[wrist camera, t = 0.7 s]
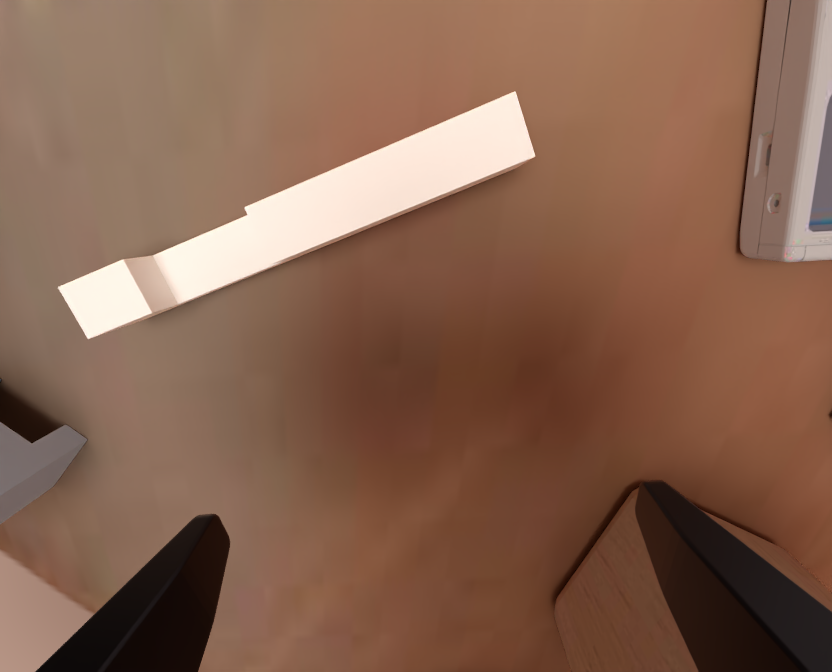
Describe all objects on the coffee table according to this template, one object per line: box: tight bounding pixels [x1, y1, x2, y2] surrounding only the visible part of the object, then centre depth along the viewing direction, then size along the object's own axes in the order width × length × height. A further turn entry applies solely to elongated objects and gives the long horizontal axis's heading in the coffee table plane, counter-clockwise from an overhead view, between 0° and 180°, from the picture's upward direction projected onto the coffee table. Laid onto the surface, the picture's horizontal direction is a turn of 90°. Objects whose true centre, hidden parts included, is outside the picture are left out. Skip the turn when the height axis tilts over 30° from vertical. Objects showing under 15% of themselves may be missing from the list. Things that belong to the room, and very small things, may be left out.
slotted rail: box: [58, 91, 535, 339], centre depth 20 cm, size 2×20×4 cm, turn 111°
